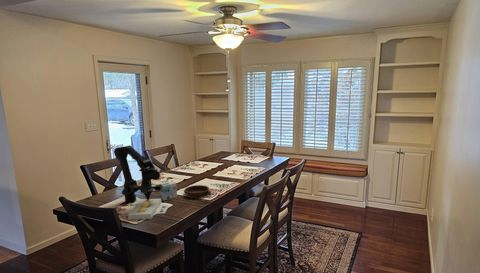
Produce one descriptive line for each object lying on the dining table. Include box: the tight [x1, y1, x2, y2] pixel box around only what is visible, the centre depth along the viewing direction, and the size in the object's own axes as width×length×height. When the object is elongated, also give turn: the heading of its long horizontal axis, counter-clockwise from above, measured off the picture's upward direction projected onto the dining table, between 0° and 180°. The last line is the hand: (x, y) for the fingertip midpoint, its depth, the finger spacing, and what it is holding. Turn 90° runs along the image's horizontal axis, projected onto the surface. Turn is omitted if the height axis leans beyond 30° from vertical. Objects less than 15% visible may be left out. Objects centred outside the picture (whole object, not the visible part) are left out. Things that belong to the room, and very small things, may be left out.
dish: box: [183, 184, 212, 199], centre depth 217 cm, size 18×22×5 cm
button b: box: [142, 201, 149, 208], centre depth 191 cm, size 4×4×4 cm
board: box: [127, 198, 162, 221], centre depth 191 cm, size 14×26×3 cm, turn 1°
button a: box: [139, 207, 146, 212], centre depth 184 cm, size 4×4×4 cm
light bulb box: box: [159, 180, 178, 201], centre depth 213 cm, size 11×7×11 cm, turn 126°
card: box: [156, 205, 169, 215], centre depth 191 cm, size 5×12×1 cm, turn 1°
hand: (148, 200), depth 198 cm, fingers closed, pressing on button c
